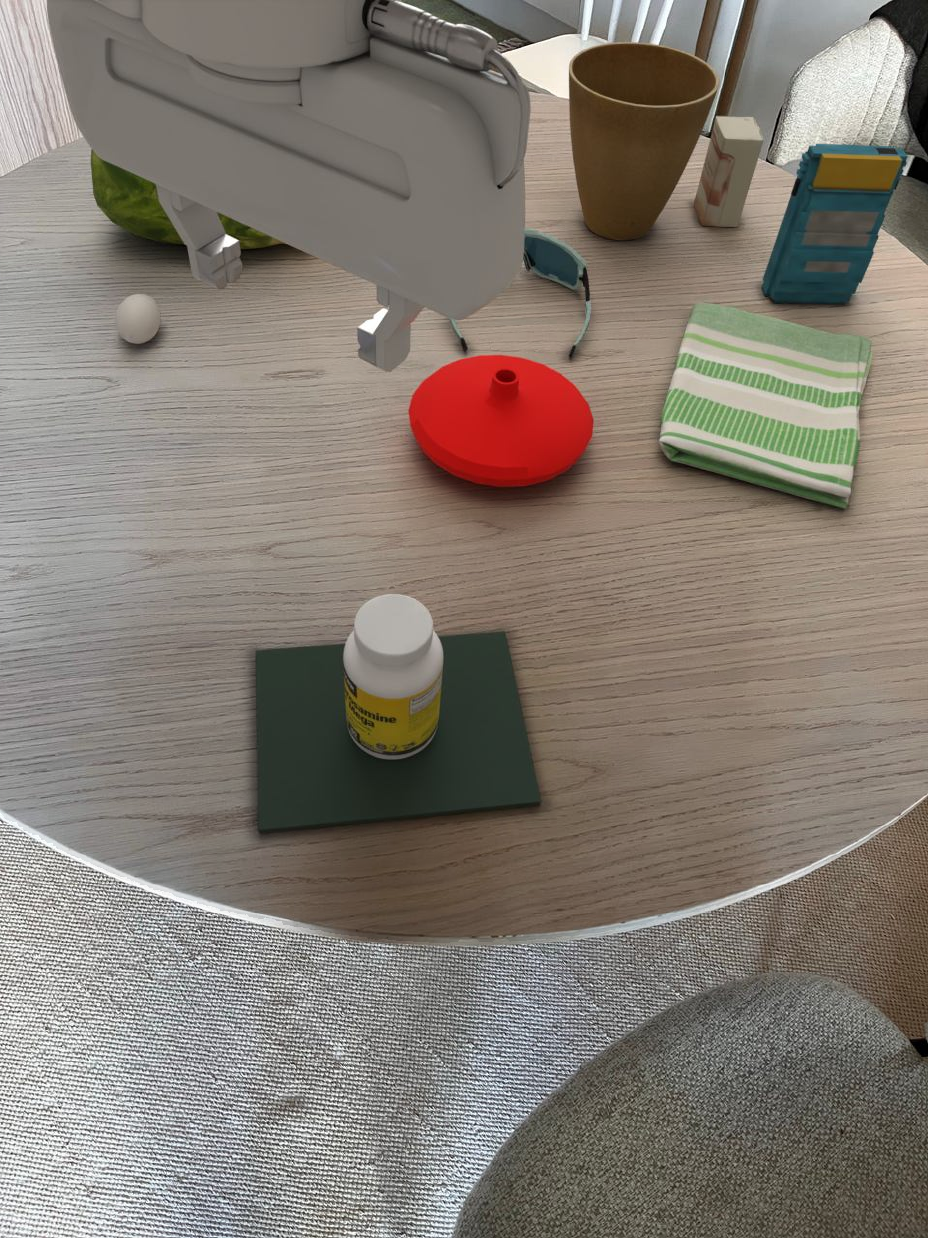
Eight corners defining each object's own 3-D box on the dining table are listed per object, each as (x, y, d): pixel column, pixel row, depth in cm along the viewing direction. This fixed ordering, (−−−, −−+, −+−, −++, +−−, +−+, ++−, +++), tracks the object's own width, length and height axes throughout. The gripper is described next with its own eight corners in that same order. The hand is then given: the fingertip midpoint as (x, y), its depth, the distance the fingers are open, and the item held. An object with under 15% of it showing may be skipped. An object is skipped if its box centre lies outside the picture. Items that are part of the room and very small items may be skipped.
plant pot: (670, 191, 114) (704, 43, 102) (692, 262, 105) (733, 109, 93) (543, 185, 114) (562, 35, 101) (554, 256, 104) (577, 101, 92)
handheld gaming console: (845, 285, 104) (903, 144, 92) (857, 308, 102) (918, 166, 90) (756, 283, 103) (803, 141, 92) (765, 306, 101) (815, 163, 89)
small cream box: (692, 203, 113) (714, 113, 105) (729, 204, 113) (754, 115, 105) (700, 227, 110) (724, 136, 102) (738, 228, 110) (765, 138, 102)
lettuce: (307, 315, 102) (322, 211, 91) (79, 248, 99) (66, 132, 88) (334, 227, 110) (352, 120, 98) (122, 162, 106) (116, 44, 95)
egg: (171, 319, 94) (163, 283, 91) (154, 357, 90) (146, 321, 87) (131, 315, 94) (122, 279, 91) (112, 354, 90) (103, 317, 87)
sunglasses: (583, 271, 103) (591, 230, 98) (588, 375, 95) (597, 336, 91) (448, 262, 102) (450, 220, 98) (442, 366, 95) (444, 326, 90)
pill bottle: (327, 723, 66) (318, 622, 57) (393, 670, 69) (393, 566, 60) (392, 781, 64) (392, 684, 55) (457, 723, 67) (467, 623, 58)
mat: (259, 834, 61) (258, 830, 61) (256, 654, 70) (255, 650, 70) (540, 805, 64) (541, 801, 63) (504, 635, 72) (505, 631, 72)
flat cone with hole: (465, 363, 92) (470, 297, 87) (617, 426, 88) (633, 361, 82) (372, 458, 83) (371, 391, 78) (536, 533, 79) (547, 468, 73)
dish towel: (868, 356, 97) (879, 333, 94) (851, 516, 82) (863, 492, 80) (690, 314, 99) (697, 290, 97) (644, 461, 85) (650, 437, 83)
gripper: (587, 17, 31) (536, 375, 42) (121, -134, 37) (182, 210, 48) (476, 84, 27) (451, 455, 38) (-16, -95, 34) (82, 266, 45)
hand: (298, 317), depth 43 cm, fingers open, 8 cm apart
